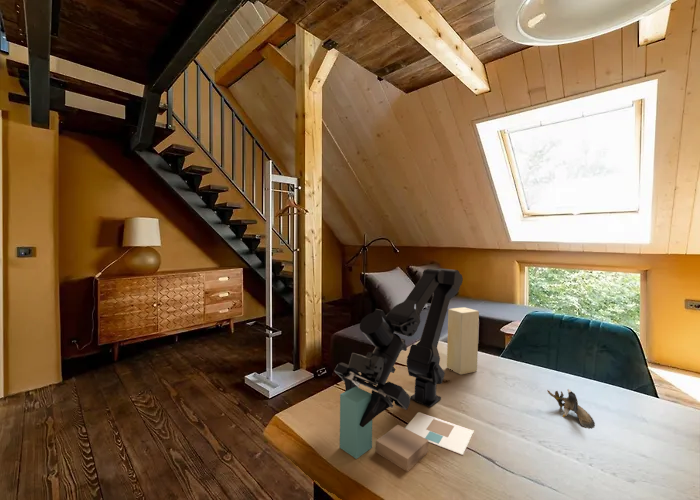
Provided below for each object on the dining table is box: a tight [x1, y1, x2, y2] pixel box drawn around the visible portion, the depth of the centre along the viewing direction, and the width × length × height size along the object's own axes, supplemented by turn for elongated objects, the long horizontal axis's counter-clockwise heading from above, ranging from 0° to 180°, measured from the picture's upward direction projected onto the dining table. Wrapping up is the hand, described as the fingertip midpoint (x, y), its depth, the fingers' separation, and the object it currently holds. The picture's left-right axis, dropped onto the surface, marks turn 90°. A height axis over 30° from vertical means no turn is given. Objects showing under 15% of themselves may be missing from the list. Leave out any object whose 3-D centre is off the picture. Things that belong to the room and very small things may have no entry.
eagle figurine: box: [547, 388, 596, 430], centre depth 83 cm, size 8×8×10 cm
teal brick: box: [339, 387, 373, 460], centre depth 70 cm, size 5×5×12 cm
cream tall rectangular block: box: [446, 306, 480, 376], centre depth 111 cm, size 8×7×21 cm
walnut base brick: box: [375, 424, 429, 472], centre depth 69 cm, size 8×8×3 cm
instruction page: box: [404, 411, 475, 456], centre depth 76 cm, size 10×14×1 cm
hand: (351, 420), depth 69 cm, fingers closed on teal brick, 5 cm apart
